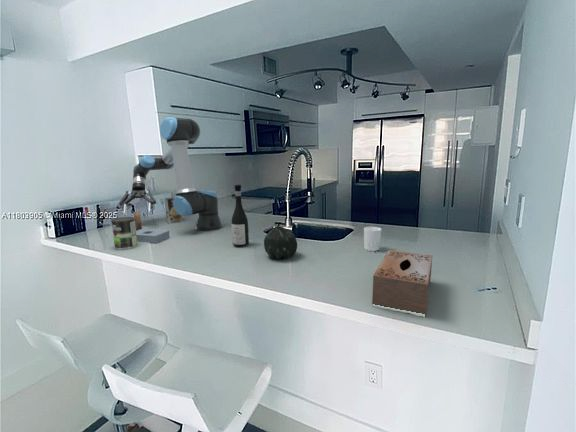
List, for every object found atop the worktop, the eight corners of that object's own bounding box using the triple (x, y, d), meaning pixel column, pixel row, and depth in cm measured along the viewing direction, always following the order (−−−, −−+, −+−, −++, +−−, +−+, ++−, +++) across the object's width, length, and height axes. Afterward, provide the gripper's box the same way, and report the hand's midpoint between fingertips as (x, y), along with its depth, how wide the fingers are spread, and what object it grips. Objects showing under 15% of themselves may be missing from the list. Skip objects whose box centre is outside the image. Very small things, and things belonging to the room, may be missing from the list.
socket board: (169, 237, 169) (169, 230, 168) (156, 243, 159) (156, 236, 158) (141, 236, 173) (140, 229, 172) (127, 241, 163) (126, 234, 162)
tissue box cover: (425, 318, 85) (427, 284, 83) (371, 307, 91) (373, 275, 89) (430, 282, 107) (432, 255, 105) (387, 275, 114) (388, 250, 112)
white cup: (365, 246, 148) (366, 225, 146) (382, 248, 144) (383, 227, 142) (360, 250, 142) (361, 229, 140) (377, 253, 138) (378, 231, 136)
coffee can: (123, 250, 148) (119, 222, 145) (110, 248, 152) (106, 220, 150) (142, 244, 157) (139, 217, 154) (129, 242, 161) (125, 216, 158)
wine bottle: (244, 248, 148) (241, 186, 142) (229, 246, 151) (226, 185, 145) (251, 243, 156) (249, 184, 150) (237, 242, 158) (234, 183, 152)
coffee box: (169, 223, 203) (167, 199, 200) (166, 221, 208) (164, 198, 205) (183, 221, 209) (181, 197, 206) (180, 219, 214) (177, 196, 211)
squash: (295, 237, 145) (274, 216, 139) (308, 247, 132) (286, 224, 126) (274, 259, 144) (252, 239, 138) (285, 271, 130) (262, 249, 124)
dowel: (143, 231, 181) (141, 211, 179) (139, 233, 178) (137, 212, 176) (138, 231, 182) (136, 211, 179) (134, 233, 179) (132, 212, 176)
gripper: (161, 188, 200) (160, 215, 189) (118, 190, 193) (115, 218, 182) (159, 180, 194) (158, 208, 183) (115, 182, 187) (112, 211, 176)
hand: (137, 213), depth 183 cm, fingers open, 13 cm apart
